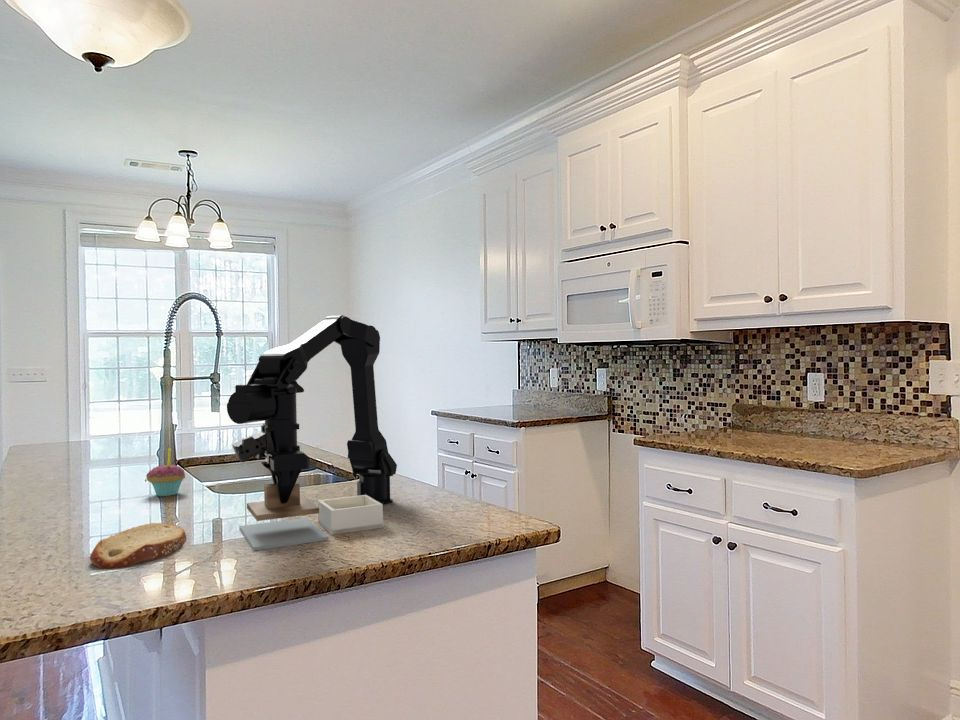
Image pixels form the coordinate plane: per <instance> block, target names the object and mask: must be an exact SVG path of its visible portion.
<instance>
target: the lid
mask: <svg viewBox="0 0 960 720" xmlns="http://www.w3.org/2000/svg"><path fill="white" fill-rule="evenodd" d="M300 486H301V485H300V482H298V480H297V481H296V483H295V485H294V488H293V490H292V492H291V495H290V497H289V499H288V502H287V503H281V501H280V497H279V492H278V486H277V483H275V484H273V483H268V484H264V485H263V488H264V489H263V490H264V491H263V492H264V493H263V494H264V496H263V498H264V499H263V500H262V501H254V502H253V501H252V502H247V503H246V509H247V510H248V512H249V513H250V514H251V515H252V517H253V518H254V519H255V520H256V521H257V522H263V521H270V520H277V519H283V518H292V517H293V518H294V517H299V516H307V515H316V514H317V515H318V513H319V507H318V505H316V504H315V503H314V502H313V501H311V500H310V499H309V498H308V497H306V496H301V487H300Z"/></svg>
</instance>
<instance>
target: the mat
mask: <svg viewBox="0 0 960 720" xmlns="http://www.w3.org/2000/svg"><path fill="white" fill-rule="evenodd" d="M238 527H239V531H240V532H241V534H242V535H243V537H244V538H245V540H246V541H247V543H248V545H250V547H251V549H252V550H253V552H254V551H261V550H267V549H273V548H274V549H275V548H282V547H289V546H296V545H302V544H303V545H304V544H309V543H316V542H322V541H329V535H327V534H326V533H325V532H324V531H323V530H321V529H320V528H319V527H318V525H316V524H315V523H313V522H312V521H311V519H309V518H308V517H301V518H293V519H286V520H285V519H284V520H278V521H269V522H263V523H253V524H246V525H239V526H238Z"/></svg>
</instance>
